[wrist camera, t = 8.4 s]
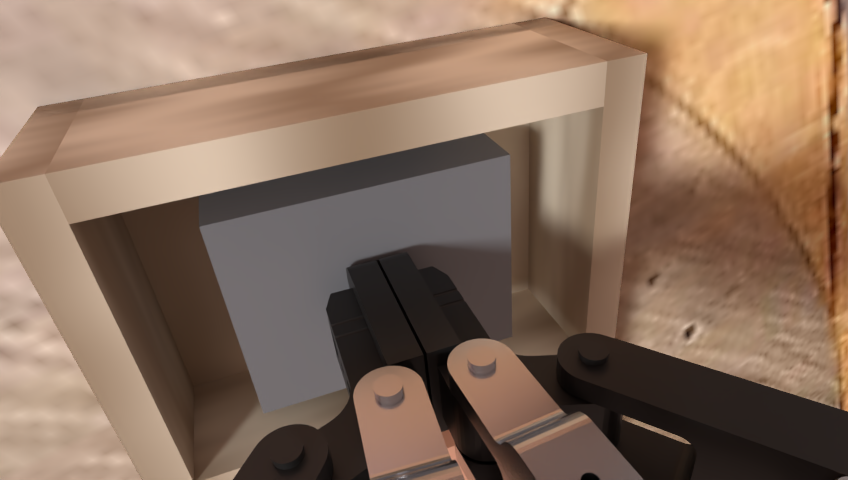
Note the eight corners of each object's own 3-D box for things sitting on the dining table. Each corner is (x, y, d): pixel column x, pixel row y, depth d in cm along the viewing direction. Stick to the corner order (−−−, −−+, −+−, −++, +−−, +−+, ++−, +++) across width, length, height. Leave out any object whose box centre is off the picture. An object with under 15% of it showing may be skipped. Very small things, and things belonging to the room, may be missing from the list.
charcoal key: (473, 124, 15) (510, 154, 14) (481, 293, 18) (511, 336, 17) (198, 183, 14) (199, 226, 12) (255, 358, 17) (263, 413, 15)
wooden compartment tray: (545, 17, 16) (647, 53, 13) (534, 542, 30) (581, 631, 27) (37, 106, 13) (-22, 187, 10) (284, 643, 27) (297, 759, 24)
